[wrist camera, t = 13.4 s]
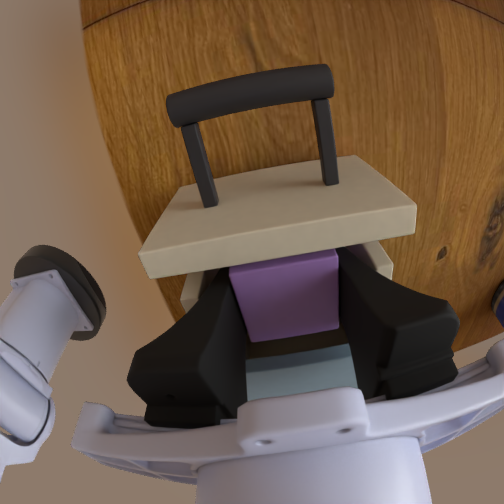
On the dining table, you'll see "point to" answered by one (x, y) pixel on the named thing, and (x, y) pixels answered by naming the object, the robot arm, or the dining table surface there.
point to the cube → (288, 295)
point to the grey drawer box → (300, 372)
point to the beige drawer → (272, 199)
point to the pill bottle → (499, 303)
